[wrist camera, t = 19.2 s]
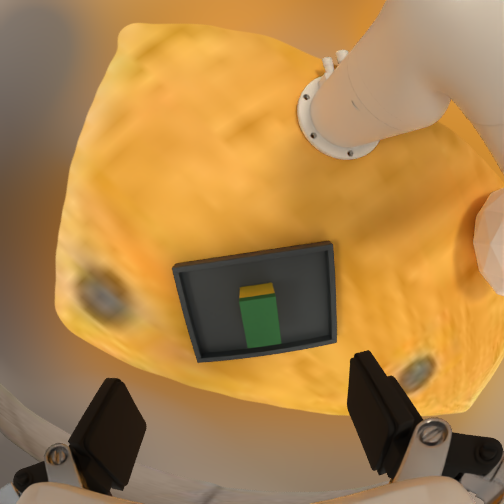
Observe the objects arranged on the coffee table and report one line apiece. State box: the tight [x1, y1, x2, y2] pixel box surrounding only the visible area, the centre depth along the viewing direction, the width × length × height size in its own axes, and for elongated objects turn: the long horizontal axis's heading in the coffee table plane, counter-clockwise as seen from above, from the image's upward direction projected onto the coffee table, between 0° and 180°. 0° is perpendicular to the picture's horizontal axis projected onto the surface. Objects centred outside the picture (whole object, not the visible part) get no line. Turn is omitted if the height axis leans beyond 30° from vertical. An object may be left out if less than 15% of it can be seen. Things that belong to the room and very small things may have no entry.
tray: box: [172, 241, 337, 363], centre depth 38 cm, size 16×22×2 cm
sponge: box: [239, 283, 281, 348], centre depth 36 cm, size 7×4×5 cm, turn 8°
